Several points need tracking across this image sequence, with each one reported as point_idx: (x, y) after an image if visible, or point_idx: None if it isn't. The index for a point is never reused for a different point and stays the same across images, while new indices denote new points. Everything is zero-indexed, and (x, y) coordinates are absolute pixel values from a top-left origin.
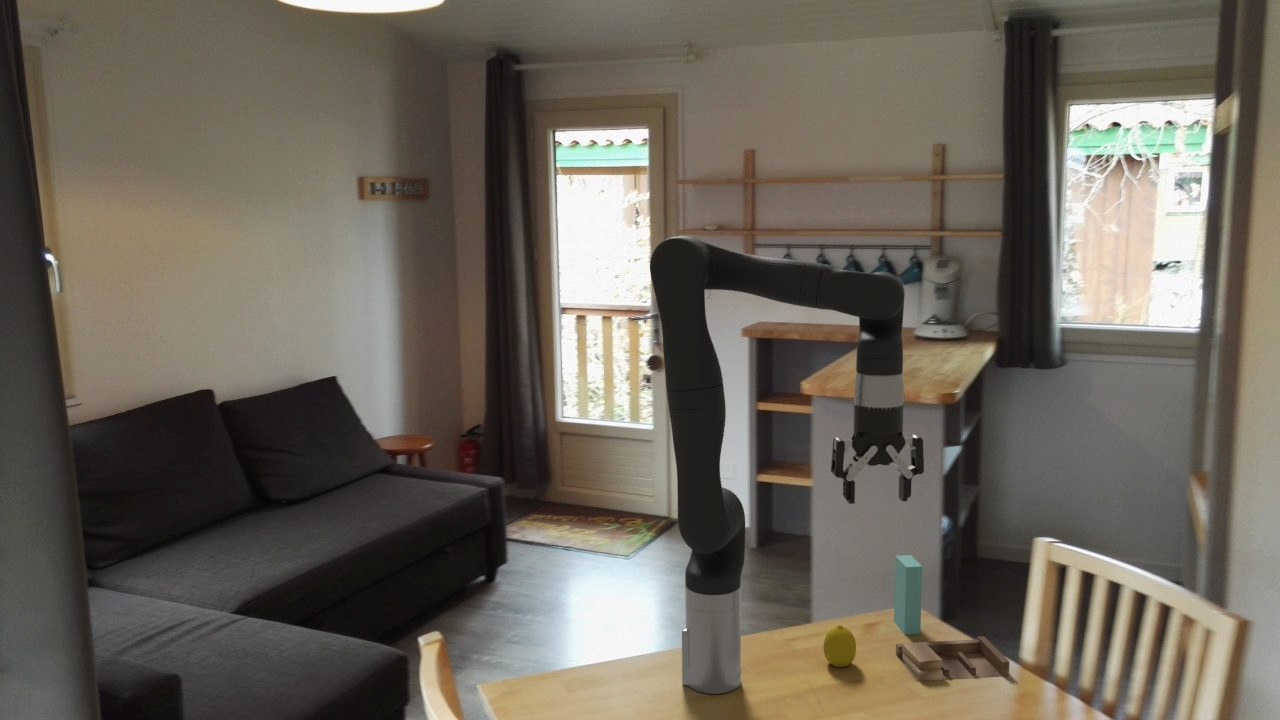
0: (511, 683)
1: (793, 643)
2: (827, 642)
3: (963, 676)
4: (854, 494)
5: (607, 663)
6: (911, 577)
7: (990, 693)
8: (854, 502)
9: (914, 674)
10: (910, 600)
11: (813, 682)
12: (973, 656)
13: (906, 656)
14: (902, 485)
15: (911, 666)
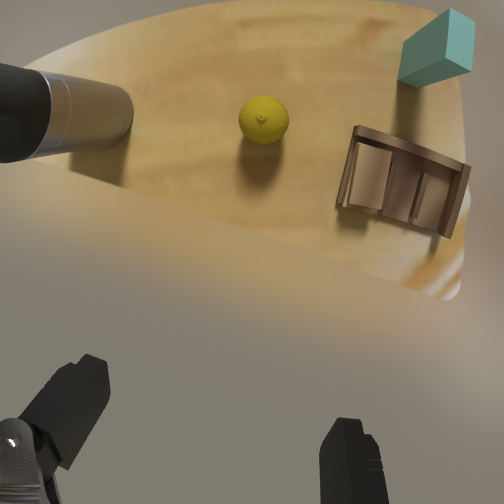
0: None
1: (240, 35)
2: (239, 122)
3: (398, 215)
4: (92, 426)
5: (35, 62)
6: (445, 66)
7: (404, 247)
8: (107, 402)
9: (345, 188)
10: (426, 73)
11: (215, 145)
12: (441, 174)
13: (354, 159)
14: (326, 499)
15: (349, 177)
